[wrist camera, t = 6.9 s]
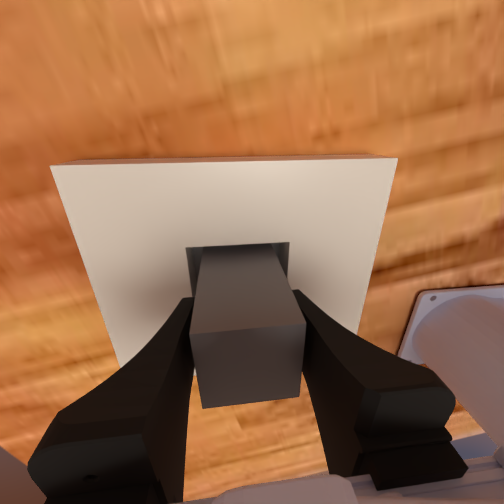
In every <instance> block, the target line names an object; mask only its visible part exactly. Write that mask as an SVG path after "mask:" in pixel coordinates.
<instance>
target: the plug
mask: <svg viewBox="0 0 504 504" xmlns="http://www.w3.org/2000/svg"><path fill="white" fill-rule="evenodd" d="M305 333H306V321H305V319H304V317H303V314H302V312H301V310H300V308H299V305H298V303H297V301H296V299H295V296H294V294H293V292H292V289H291V287H290V285H289V283H288V280H287V278H286V276H285V274H284V271H283V269H282V267H281V265H280V262H279V260H278V258H277V256H276V253H275V251H274V249H273V247H272V244H271V243H260V244H241V245H223V246H204V247H203V251H202V258H201V264H200V270H199V276H198V283H197V289H196V295H195V301H194V308H193V314H192V320H191V326H190V333H189V336H190V342H191V347H192V353H193V358H194V364H195V370H196V375H197V381H198V386H199V392H200V398H201V403H202V409H206V408H214V407H222V406H230V405H238V404H246V403H254V402H262V401H270V400H278V399H286V398H294V397H299V395H300V384H301V374H302V364H303V353H304V343H305Z"/></svg>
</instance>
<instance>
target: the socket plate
mask: <svg viewBox="0 0 504 504" xmlns="http://www.w3.org/2000/svg"><path fill="white" fill-rule="evenodd" d="M397 161H398V158H395V157H388V156H381V155H374V154H344V155H294V156H244V157H194V158H145V159H95V160H76V161H71V162H66V163H61V164H56V165H51V166H50V168H51V171H52V174H53V177H54V180H55V182H56V185H57V188H58V191H59V194H60V197H61V200H62V202H63V205H64V208H65V211H66V214H67V217H68V220H69V222H70V225H71V228H72V231H73V234H74V237H75V239H76V242H77V245H78V248H79V251H80V254H81V257H82V259H83V262H84V265H85V268H86V271H87V274H88V276H89V279H90V282H91V285H92V288H93V291H94V294H95V296H96V299H97V302H98V305H99V308H100V311H101V314H102V316H103V319H104V322H105V325H106V328H107V331H108V333H109V336H110V339H111V342H112V345H113V348H114V351H115V353H116V356H117V359H118V362H119V365H120V368H121V367H123V366H124V365H125V364H126V363H127V362H128V361H130V360H131V359H132V358H133V357H134V356H135V355H136V354H137V353H138V352H139V351H140V350H141V349H142V348H143V347H144V346H145V345H146V344H147V343H148V342H149V341H150V340H151V339H152V337H153V336H154V335H155V334H156V333H157V332H158V330H159V329H160V328H161V327H162V326H163V324H164V323H165V322H166V320H167V319H168V318H169V316H170V315H171V314H172V312H173V311H174V309H175V308H176V307H177V305H178V304H179V302H180V301H181V299H182V298H185V297H195V295H196V289H197V283H198V276H199V270H200V264H201V258H202V251H203V247H204V246H223V245H241V244H260V243H271V244H272V247H273V249H274V251H275V253H276V256H277V258H278V260H279V262H280V265H281V267H282V269H283V271H284V274H285V276H286V278H287V280H288V283H289V285H290V287H291V289H292V290H295V289H299V290H300V291H301V292H302V293H303V294H305V295H306V296H307V297H308V298H309V299H310V300H311V301H312V302H313V303H314V304H316V305H317V306H318V307H319V308H320V309H321V310H323V311H324V312H325V313H326V314H327V315H329V316H330V317H331V318H333V319H334V320H335V321H337V322H338V323H339V324H341V325H342V326H343V327H345V328H346V329H348V330H350V331H351V332H353V333H354V334H356V335H357V331H358V327H359V323H360V318H361V314H362V310H363V306H364V301H365V297H366V293H367V289H368V284H369V280H370V276H371V272H372V267H373V263H374V259H375V255H376V250H377V246H378V242H379V238H380V233H381V229H382V225H383V221H384V216H385V212H386V208H387V204H388V199H389V195H390V191H391V187H392V182H393V178H394V174H395V170H396V165H397ZM194 375H196V370H195V369H194ZM194 375H193V376H194Z"/></svg>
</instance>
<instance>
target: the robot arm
mask: <svg viewBox="0 0 504 504" xmlns="http://www.w3.org/2000/svg"><path fill="white" fill-rule="evenodd" d="M292 292H293V294H294V296H295V299H296V301H297V303H298V305H299V308H300V310H301V312H302V314H303V317H304V319H305V321H306V333H305V343H304V353H303V364H302V372H303V375H304V377H305V380H306V383H307V386H308V390H309V394H310V397H311V401H312V405H313V408H314V412H315V416H316V420H317V424H318V428H319V432H320V436H321V440H322V444H323V448H324V452H325V457H326V461H327V466H328V470H329V474H330V475H316V476H309V477H302V478H295V479H288V480H281V481H275V482H268V483H261V484H254V485H247V486H242V487H238V488H234V489H231V490H227V491H225V492H224V493H222V494H221V495H219V496H218V497H213V498H206V499H199V500H193V501H186V502H183V489H184V470H185V454H186V439H187V425H188V412H189V400H190V393H191V386H192V381H193V375H194V369H195V364H194V358H193V353H192V347H191V342H190V336H189V333H190V326H191V320H192V314H193V308H194V301H195V297H185V298H182V299H181V301H180V302H179V304H178V305H177V307H176V308H175V309H174V311H173V312H172V314H171V315H170V316H169V318H168V319H167V320H166V322H165V323H164V324H163V326H162V327H161V328H160V329H159V330H158V332H157V333H156V334H155V335H154V336H153V337H152V339H151V340H150V341H149V342H148V343H147V344H146V345H145V346H144V347H143V348H142V349H141V350H140V351H139V352H138V353H137V354H136V355H135V356H134V357H133V358H132V359H131V360H130V361H128V362H127V363H126V364H125V365H124V366H123V367H121V368H120V369H119V370H118V371H117V372H116V373H114V374H113V375H112V376H110V377H109V378H108V379H107V380H105V381H104V382H103V383H101V384H100V385H98V386H97V387H96V388H94V389H93V390H91V391H90V392H89V393H87V394H86V395H84V396H83V397H81V398H79V399H78V400H76V401H75V402H73V403H72V404H70V405H69V406H67V407H66V408H64V409H62V410H61V411H59V412H58V413H57V415H56V416H55V418H54V419H53V421H52V422H51V424H50V425H49V427H48V429H47V430H46V432H45V434H44V435H43V437H42V439H41V441H40V442H39V444H38V446H37V448H36V449H35V451H34V453H33V454H32V456H31V458H30V460H29V461H28V468H27V469H28V472H29V474H30V476H31V478H32V480H33V481H34V482H35V483H36V484H37V486H38V487H39V488H40V489H41V491H42V492H43V493H44V494H45V495H46V497H47V499H46V501H45V503H44V504H504V285H495V286H482V287H469V288H456V289H443V290H430V291H423V292H421V293H420V294H419V296H418V298H417V301H416V304H415V307H414V310H413V313H412V315H411V318H410V321H409V324H408V327H407V330H406V333H405V335H404V338H403V341H402V344H401V347H400V350H399V353H398V356H396V355H394V354H391V353H389V352H387V351H385V350H383V349H381V348H379V347H377V346H375V345H373V344H371V343H370V342H368V341H366V340H364V339H362V338H361V337H359V336H357V335H356V334H354V333H353V332H351V331H350V330H348V329H346V328H345V327H343V326H342V325H341V324H339V323H338V322H337V321H335V320H334V319H333V318H331V317H330V316H329V315H327V314H326V313H325V312H324V311H323V310H321V309H320V308H319V307H318V306H317V305H316V304H314V303H313V302H312V301H311V300H310V299H309V298H308V297H307V296H306V295H305V294H303V293H302V292H301V291H300V290H299V289H295V290H292ZM418 364H426V365H427V366H428V367H429V368H430V369H428V368H425V367H423V366H420V365H418ZM455 398H456V399H457V400H458V401H459V403H460V404H461V405H462V406H463V407H464V408H465V409H466V411H467V412H468V413H469V414H470V415H471V416H472V417H473V419H474V420H475V421H476V422H477V423H478V424H479V425H480V427H481V428H482V429H483V430H484V431H485V432H486V433H487V434H488V436H489V437H490V438H491V439H492V440H493V441H494V442H495V444H496V445H497V446H498V447H497V449H496V450H495V452H494V455H493V456H487V457H480V458H473V459H467V460H463V459H462V458H461V457H460V455H459V454H458V452H457V451H456V450H455V448H454V447H453V446H452V444H451V443H450V442H449V441H451V440H452V436H451V435H450V433H449V432H448V431H447V429H446V428H445V427H444V426H445V424H446V422H447V421H448V419H449V417H450V415H451V414H452V412H453V410H454V407H455V403H456V401H455Z"/></svg>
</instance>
